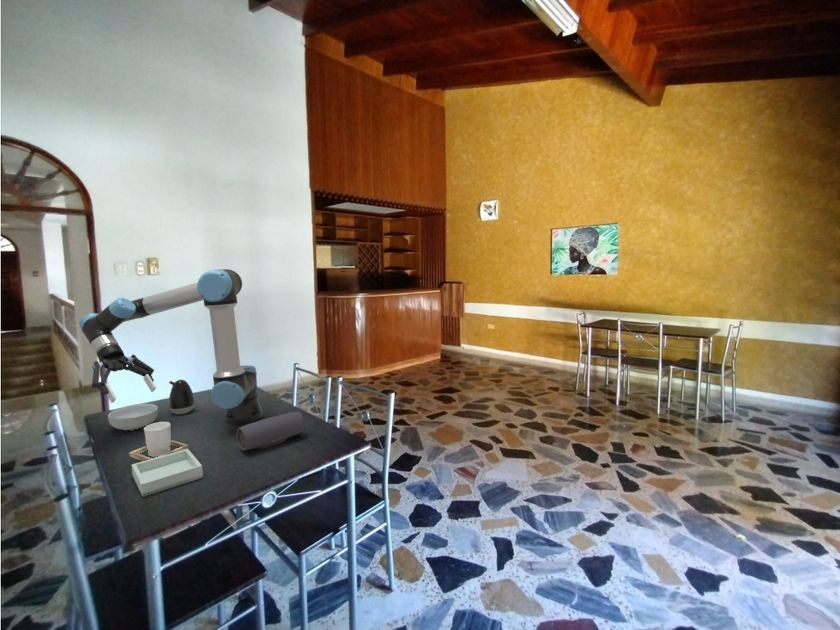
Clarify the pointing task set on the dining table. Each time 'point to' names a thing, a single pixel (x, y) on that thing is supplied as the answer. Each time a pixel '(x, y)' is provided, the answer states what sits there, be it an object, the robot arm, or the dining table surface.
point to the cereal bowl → (133, 416)
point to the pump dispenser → (181, 397)
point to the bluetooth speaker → (270, 431)
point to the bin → (166, 472)
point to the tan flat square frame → (138, 456)
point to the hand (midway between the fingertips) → (134, 394)
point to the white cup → (158, 438)
